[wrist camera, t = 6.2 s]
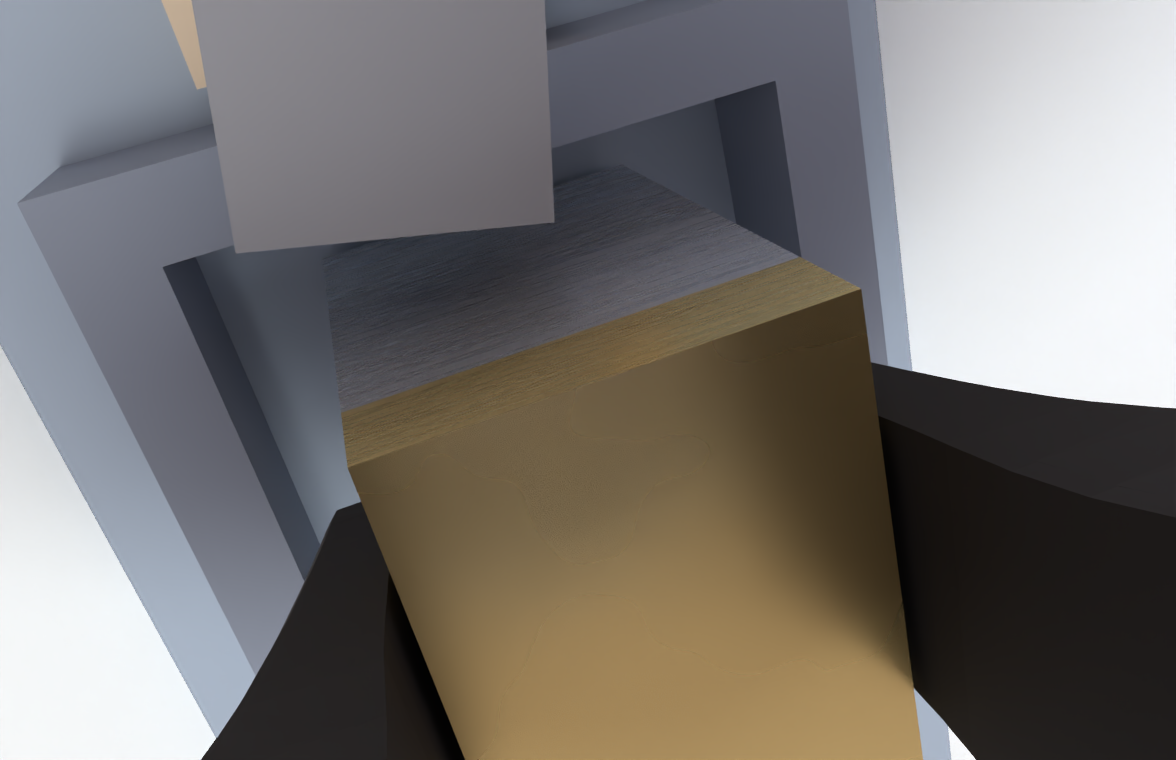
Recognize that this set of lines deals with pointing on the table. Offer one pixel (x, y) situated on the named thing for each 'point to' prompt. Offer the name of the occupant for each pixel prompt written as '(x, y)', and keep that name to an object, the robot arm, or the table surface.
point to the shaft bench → (271, 295)
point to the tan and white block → (628, 483)
